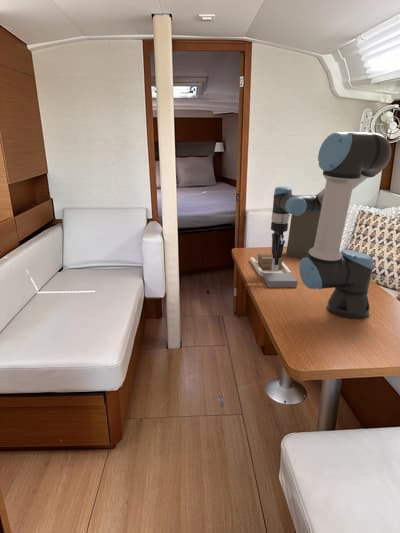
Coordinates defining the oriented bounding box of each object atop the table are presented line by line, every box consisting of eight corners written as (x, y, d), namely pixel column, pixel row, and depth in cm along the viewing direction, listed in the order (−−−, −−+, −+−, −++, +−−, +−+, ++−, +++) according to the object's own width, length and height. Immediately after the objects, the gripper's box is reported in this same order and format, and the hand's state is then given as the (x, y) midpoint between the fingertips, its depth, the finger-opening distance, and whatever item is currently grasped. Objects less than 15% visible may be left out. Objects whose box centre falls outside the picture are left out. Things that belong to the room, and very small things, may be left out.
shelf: (291, 278, 173) (291, 272, 172) (259, 278, 172) (260, 272, 171) (277, 262, 194) (278, 257, 193) (250, 262, 193) (250, 257, 192)
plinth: (296, 287, 163) (297, 280, 162) (268, 287, 162) (268, 281, 161) (289, 278, 172) (290, 272, 171) (262, 279, 171) (263, 273, 170)
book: (324, 256, 208) (333, 207, 198) (327, 261, 199) (336, 210, 189) (286, 252, 211) (293, 204, 201) (286, 257, 202) (293, 207, 193)
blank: (281, 270, 180) (282, 258, 178) (261, 270, 179) (262, 258, 177) (276, 264, 188) (277, 253, 186) (257, 264, 187) (258, 253, 185)
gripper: (292, 225, 160) (286, 275, 168) (283, 218, 172) (278, 265, 180) (275, 225, 159) (270, 275, 167) (268, 218, 171) (263, 265, 179)
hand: (274, 270), depth 174 cm, fingers closed
